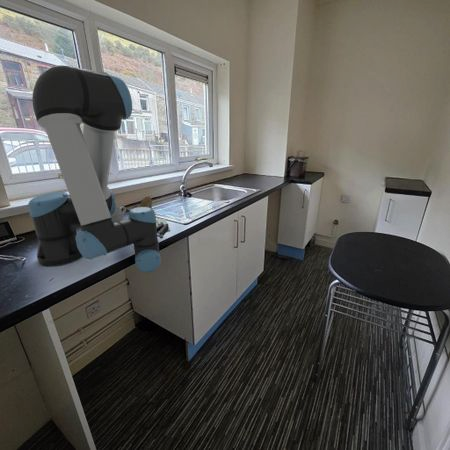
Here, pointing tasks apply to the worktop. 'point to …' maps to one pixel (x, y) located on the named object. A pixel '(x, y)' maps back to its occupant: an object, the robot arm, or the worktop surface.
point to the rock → (146, 202)
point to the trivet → (163, 222)
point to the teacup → (118, 214)
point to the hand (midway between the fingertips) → (142, 223)
